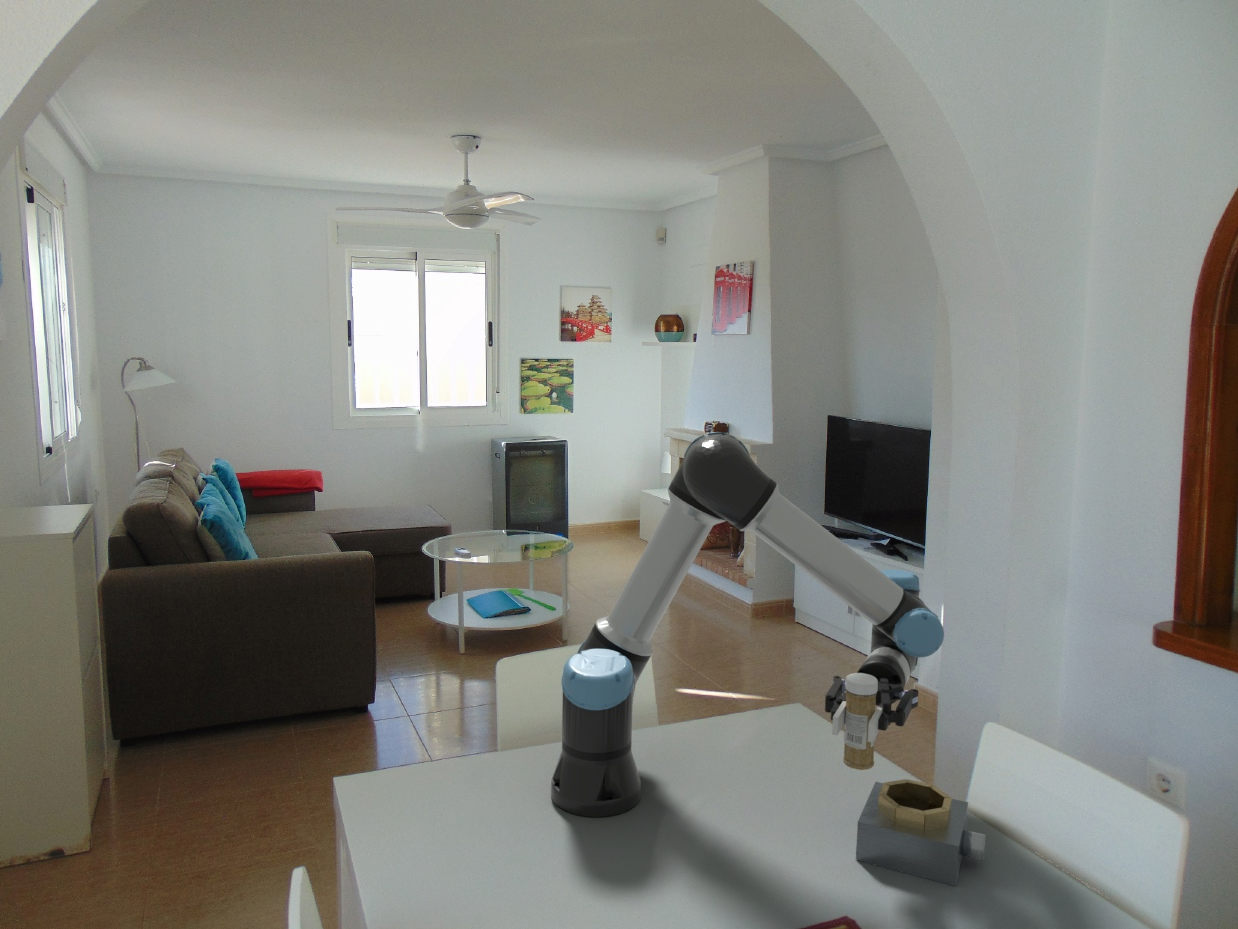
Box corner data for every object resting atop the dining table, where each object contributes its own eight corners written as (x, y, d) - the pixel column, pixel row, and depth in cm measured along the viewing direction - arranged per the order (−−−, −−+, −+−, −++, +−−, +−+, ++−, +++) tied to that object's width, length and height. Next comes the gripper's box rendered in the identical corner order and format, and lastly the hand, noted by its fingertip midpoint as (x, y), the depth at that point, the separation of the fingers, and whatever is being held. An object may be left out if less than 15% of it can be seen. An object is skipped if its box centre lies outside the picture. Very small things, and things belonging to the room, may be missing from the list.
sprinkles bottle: (880, 766, 131) (884, 679, 130) (859, 774, 129) (863, 685, 127) (856, 754, 135) (860, 669, 134) (835, 761, 133) (839, 675, 131)
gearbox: (855, 859, 131) (858, 805, 130) (873, 816, 144) (876, 766, 143) (978, 892, 124) (983, 835, 123) (986, 843, 136) (990, 791, 135)
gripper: (936, 708, 144) (915, 767, 123) (829, 689, 151) (792, 742, 131) (939, 663, 143) (917, 715, 122) (831, 647, 151) (793, 693, 130)
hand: (852, 729), depth 126 cm, fingers closed on sprinkles bottle, 4 cm apart
